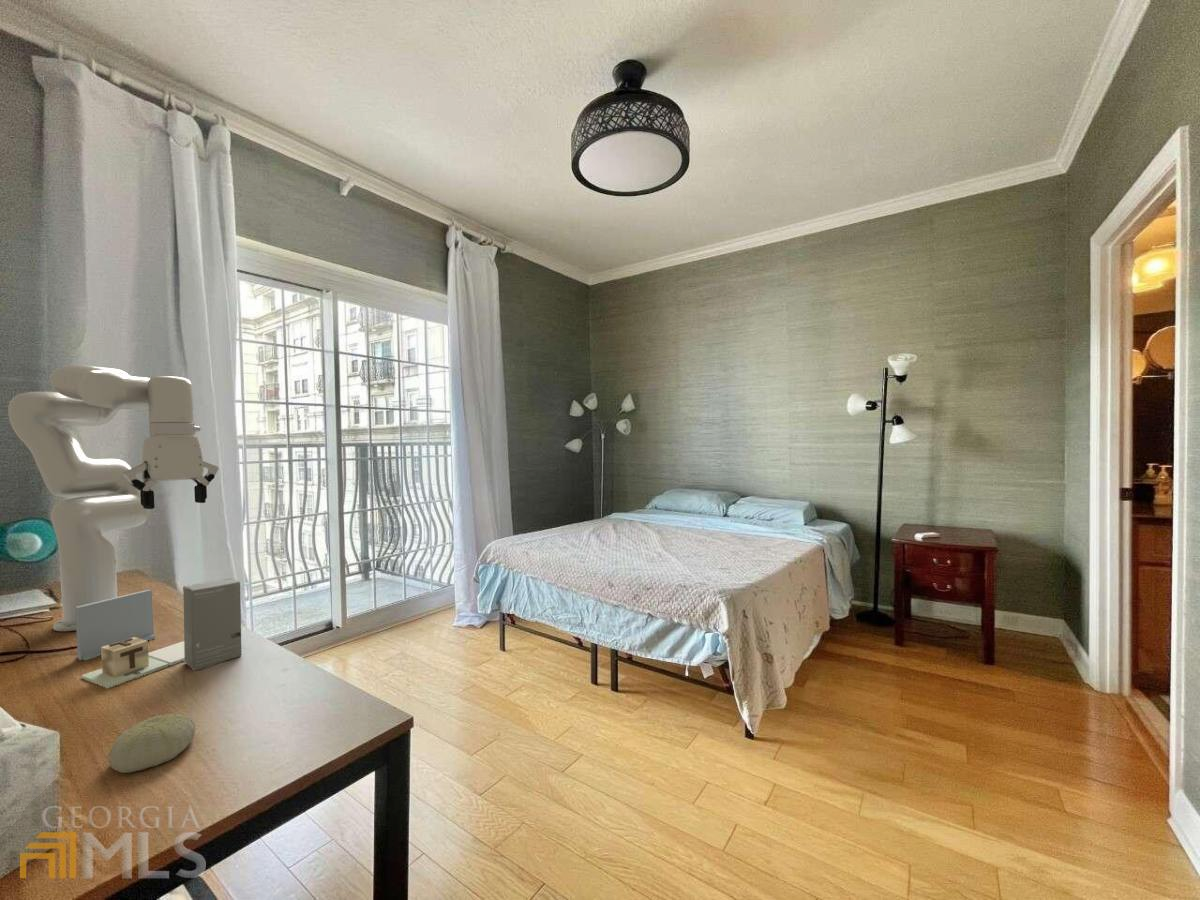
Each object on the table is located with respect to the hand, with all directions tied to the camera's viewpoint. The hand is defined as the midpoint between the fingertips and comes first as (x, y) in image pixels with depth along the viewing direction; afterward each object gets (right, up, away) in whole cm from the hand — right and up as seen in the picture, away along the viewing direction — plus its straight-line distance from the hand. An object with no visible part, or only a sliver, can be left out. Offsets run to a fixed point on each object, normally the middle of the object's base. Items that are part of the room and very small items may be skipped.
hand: (175, 505), depth 109 cm
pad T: (+5, -31, -16) cm, 35 cm away
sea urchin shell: (+34, -31, -41) cm, 62 cm away
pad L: (+9, -30, -8) cm, 33 cm away
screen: (-8, -31, -5) cm, 32 cm away
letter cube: (+5, -30, -16) cm, 35 cm away
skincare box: (+18, -31, -11) cm, 37 cm away
